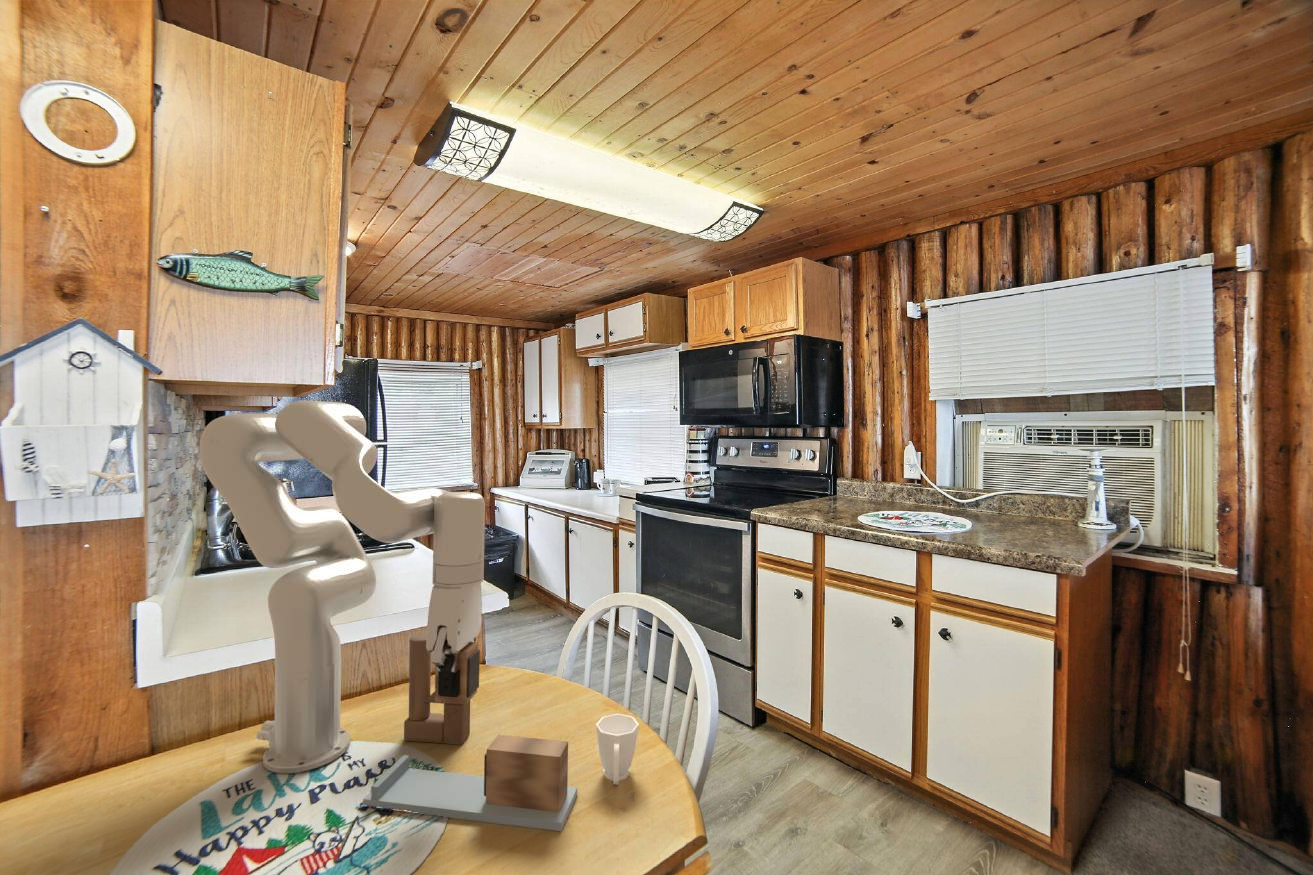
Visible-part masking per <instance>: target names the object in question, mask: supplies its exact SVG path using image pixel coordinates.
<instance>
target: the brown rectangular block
mask: <svg viewBox="0 0 1313 875" xmlns="http://www.w3.org/2000/svg"><path fill="white" fill-rule="evenodd" d="M446 649H451V646H447V647H446ZM480 655H481V650H480V649H479V642H476V641H475V642H469V643H468V644H467V645H466V646H465V647H463V648H462V649H461V650H460V651H459V661H458V669H457V670H460V694H459V696H458V697H446V696H439V695H438V675H439V671H437V666H436V665H435V664H434V665H435V667H434V668H435V669H434V670H435V671H434V672H435V674H434V676H435V678H434V692H435V702H442V703H441V704H443V703H454V704H467V703H468V702H469V701H470V702H471V700H472V698H473V697H475V695H476V694H477V693H478V689H479V687H480V661H481V660H480V658H481V657H480ZM452 656H453V655H447V654H445V657H446V658H450V660H451V661H452Z"/></svg>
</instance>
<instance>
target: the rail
mask: <svg viewBox="0 0 1313 875" xmlns="http://www.w3.org/2000/svg"><path fill="white" fill-rule="evenodd" d="M370 790H371V791H369V793H368V794H367V795H365V796H364V798H363V799H362V806H363V805H371V806H379V807H382V808H391V809H392V808H393V809H398V810H407V811H411V812H418V813H423V814H427V815H426V816H431V815H438V816H437V817H440V816H445V817H444V818H448V817H450V818H449V819H455V820H456V819H458V820H467V821H473V822H481V823H482V822H483V823H488V824H489V823H490V824H498V825H505V826H512V827H520V828H521V827H523V828H530V829H537V830H538V829H539V830H548V831H553V832H554V831H555V832H563V828H564V826H565V825H566V821H567V819H568V817H569V815H570V813H571V811H572V809H573V806H574V804H575V801H576V799H577V798H578V797H577V796H578V786H572V785H567V796H566V799H565V801H564V803H563V805H562V807H561V809H560V811H559V812H550V811H542V810H534V809H525V808H517V807H508V806H500V805H491V804H486V796H484V775H483V776H482V775H473V774H464V773H455V772H446V771H437V770H429V769H428V770H427V769H419V768H412V767H410V755H406V754H405V755H402V756H401V757H399V759H398V760H397V761H396V762H394V764H392V765H391V767H389V769H388V770H386V771H385V773H384V774H382V775H381V777H380V778H378V779H377V780H376V781H375V782H374V783H373V784H372V785H371V789H370ZM423 814H422V815H423Z"/></svg>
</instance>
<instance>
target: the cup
mask: <svg viewBox="0 0 1313 875" xmlns="http://www.w3.org/2000/svg"><path fill="white" fill-rule="evenodd" d="M639 726H640V724H639V722H638V721H637V720H636V718H634V716H631V715H629V714H628V715H627V714H623V713H613V714H609V715H603V716H602V717H601V718H600V719H599V720H598V722H596V723H595V728H596V729H595V730H596V736H597V742H598V751H599V757H600V762H601V766H602V767H603V771H602V774H603V775H604V777H605V778H606V780H610V781H612V782H613V785H619V782H620V781H623V780H626V779H627V778H629V775H630V774H631V770H630V767H631V766H632V762H633V759H634V756H635V753H636V752H635V751H636V744H637V738H638V733H639V728H640V727H639Z"/></svg>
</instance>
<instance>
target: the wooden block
mask: <svg viewBox="0 0 1313 875" xmlns="http://www.w3.org/2000/svg"><path fill="white" fill-rule="evenodd" d="M426 638H427V633H426V634H425V633H424V634H416V635H413V636H411V637H410V639H409V662H408V664H409V665H408V666H409V668H408V670H409V672H408V673H409V674H408V675H409V676H408V677H409V678H408V717H407V718H406V719H405V720H404V722H403V740H404V741H405V742H419V743H434V744H435V743H437V744H442V743H443V744H447V745H463V744H464V743H465V741H466V740H467V739H468V738H469V736H470V732H471V730H470V729H471V700H470V701H469V702H468V703H467V704H454V703H442V702H435V691H434V692H431V685H432V684H431V683H432V682H431V680H432V678H431V676H432V673H431V670H432V662H431V660H432V652H428V651H427V649H426ZM431 693H432V694H431ZM431 704H443V714H442V713H437V712H431Z"/></svg>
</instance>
